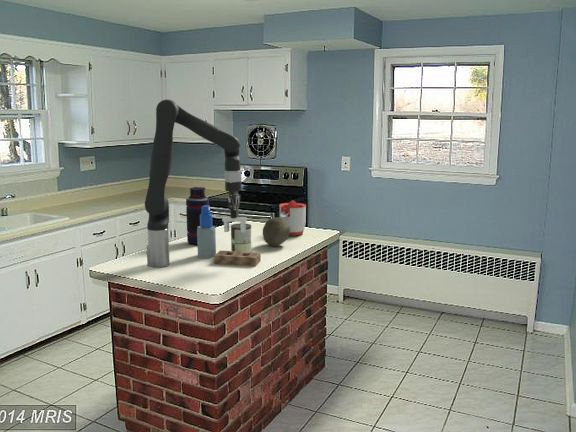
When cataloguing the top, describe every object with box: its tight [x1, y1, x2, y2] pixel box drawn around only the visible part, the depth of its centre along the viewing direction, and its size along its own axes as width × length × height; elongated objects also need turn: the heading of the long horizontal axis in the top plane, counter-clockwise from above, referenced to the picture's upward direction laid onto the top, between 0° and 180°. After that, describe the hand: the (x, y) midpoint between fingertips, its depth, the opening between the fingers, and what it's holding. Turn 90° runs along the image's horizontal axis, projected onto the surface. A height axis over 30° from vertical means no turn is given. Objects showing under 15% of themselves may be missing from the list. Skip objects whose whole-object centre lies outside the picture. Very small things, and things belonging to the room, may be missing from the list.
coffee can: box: [230, 222, 252, 252], centre depth 274 cm, size 10×10×14 cm
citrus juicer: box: [279, 199, 307, 237], centre depth 315 cm, size 16×17×20 cm
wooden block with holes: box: [213, 250, 262, 267], centre depth 258 cm, size 20×9×4 cm, turn 79°
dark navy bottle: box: [185, 186, 210, 245], centre depth 293 cm, size 14×12×30 cm
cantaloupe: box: [262, 216, 290, 247], centre depth 289 cm, size 14×14×15 cm
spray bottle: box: [197, 204, 217, 259], centre depth 267 cm, size 9×9×25 cm
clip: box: [221, 206, 248, 233], centre depth 253 cm, size 11×3×12 cm, turn 78°
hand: (234, 217), depth 253 cm, fingers closed on clip, 3 cm apart
